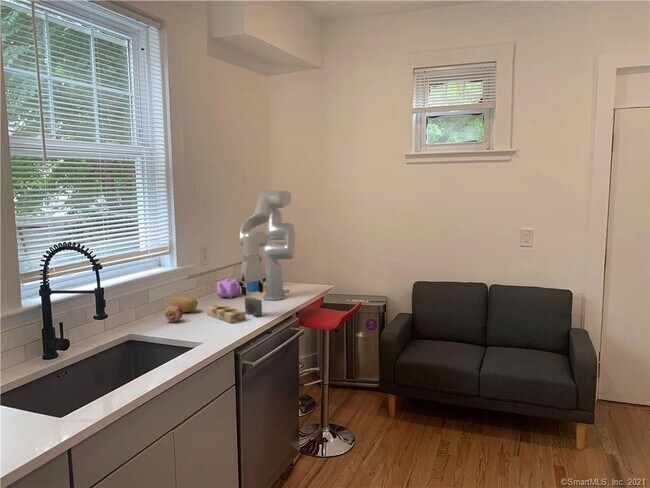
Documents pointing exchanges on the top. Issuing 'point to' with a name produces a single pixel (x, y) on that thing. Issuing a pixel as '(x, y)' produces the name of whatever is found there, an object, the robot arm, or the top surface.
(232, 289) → the teapot
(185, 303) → the potato
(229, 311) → the wooden block with holes
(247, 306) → the gray pronged block
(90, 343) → the top surface
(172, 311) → the fruit
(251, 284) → the water bottle
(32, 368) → the top surface
